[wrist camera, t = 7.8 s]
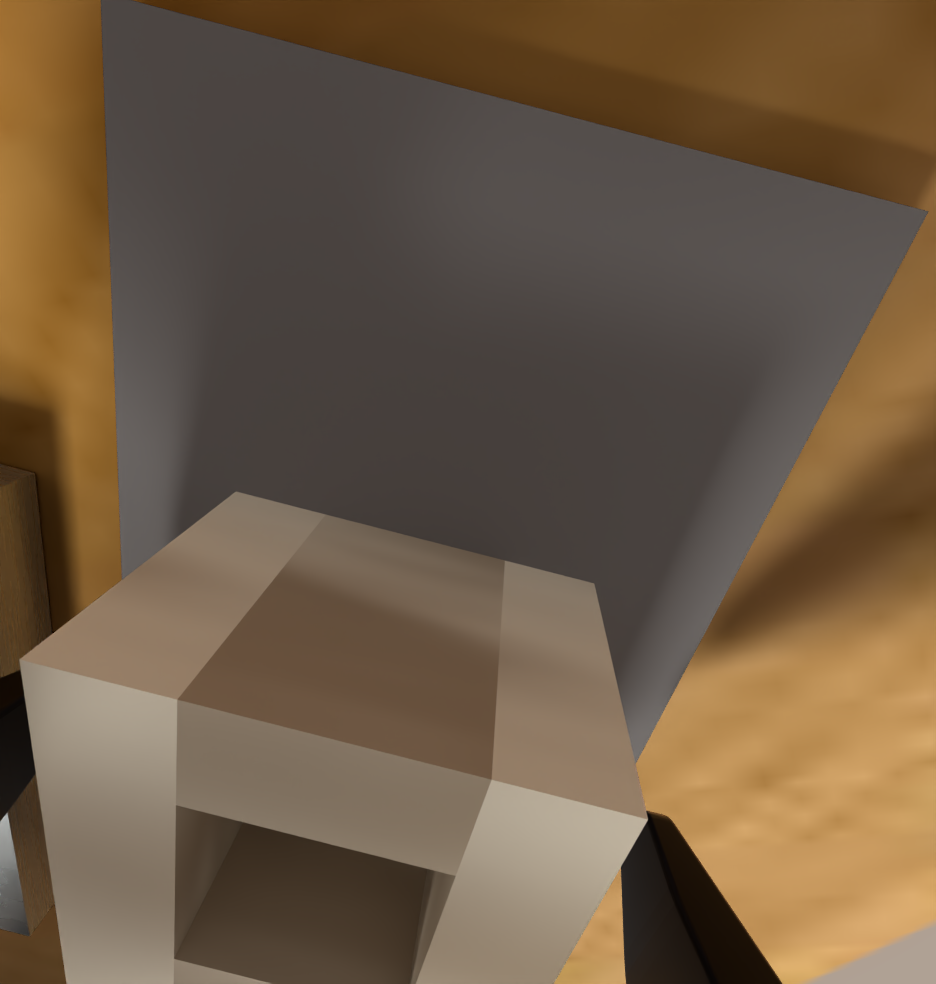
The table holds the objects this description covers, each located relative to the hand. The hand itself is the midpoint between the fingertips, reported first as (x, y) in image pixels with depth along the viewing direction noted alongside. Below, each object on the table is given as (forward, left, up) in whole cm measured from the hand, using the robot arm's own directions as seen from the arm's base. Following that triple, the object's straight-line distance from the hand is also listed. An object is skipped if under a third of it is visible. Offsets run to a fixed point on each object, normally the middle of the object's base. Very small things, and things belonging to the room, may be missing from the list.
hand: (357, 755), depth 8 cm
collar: (0, 0, -2) cm, 2 cm away
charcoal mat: (0, 0, -2) cm, 2 cm away
